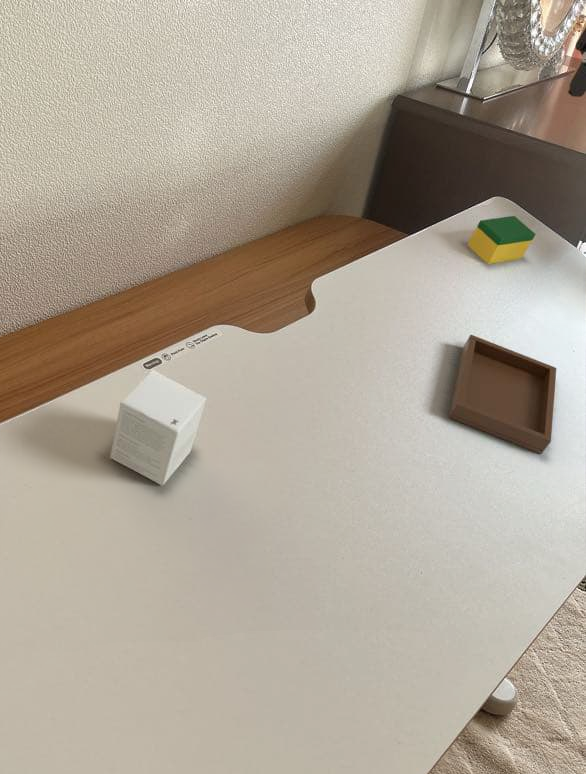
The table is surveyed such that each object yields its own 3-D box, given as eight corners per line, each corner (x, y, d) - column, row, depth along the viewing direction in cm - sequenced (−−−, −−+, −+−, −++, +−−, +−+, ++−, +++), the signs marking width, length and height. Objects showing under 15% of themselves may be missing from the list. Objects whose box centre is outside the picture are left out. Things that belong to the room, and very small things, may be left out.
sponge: (501, 240, 129) (514, 215, 126) (521, 258, 127) (536, 234, 124) (467, 245, 126) (480, 220, 123) (487, 264, 124) (501, 239, 121)
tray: (462, 347, 110) (470, 334, 108) (547, 380, 109) (556, 367, 107) (448, 417, 100) (456, 404, 98) (541, 454, 99) (551, 441, 98)
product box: (191, 452, 88) (209, 397, 82) (162, 488, 84) (178, 433, 78) (138, 424, 89) (152, 367, 83) (107, 457, 85) (119, 401, 79)
